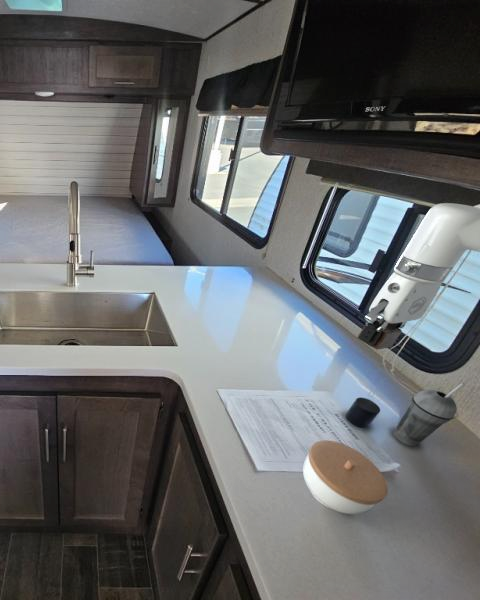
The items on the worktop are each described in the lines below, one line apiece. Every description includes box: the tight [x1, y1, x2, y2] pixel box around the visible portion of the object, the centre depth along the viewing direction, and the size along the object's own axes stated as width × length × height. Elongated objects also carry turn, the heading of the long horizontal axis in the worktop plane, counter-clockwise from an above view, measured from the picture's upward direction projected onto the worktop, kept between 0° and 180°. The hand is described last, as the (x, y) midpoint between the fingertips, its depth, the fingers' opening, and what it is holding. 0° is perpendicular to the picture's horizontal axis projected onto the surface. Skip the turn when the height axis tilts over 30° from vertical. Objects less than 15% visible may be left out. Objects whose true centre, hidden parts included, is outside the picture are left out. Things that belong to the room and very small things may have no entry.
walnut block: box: [356, 319, 403, 351], centre depth 72 cm, size 4×4×4 cm
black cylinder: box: [345, 396, 381, 429], centre depth 83 cm, size 5×5×6 cm
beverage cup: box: [393, 382, 466, 447], centre depth 76 cm, size 7×7×20 cm
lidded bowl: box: [302, 439, 389, 515], centre depth 65 cm, size 13×13×11 cm
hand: (375, 340), depth 73 cm, fingers closed on walnut block, 4 cm apart
